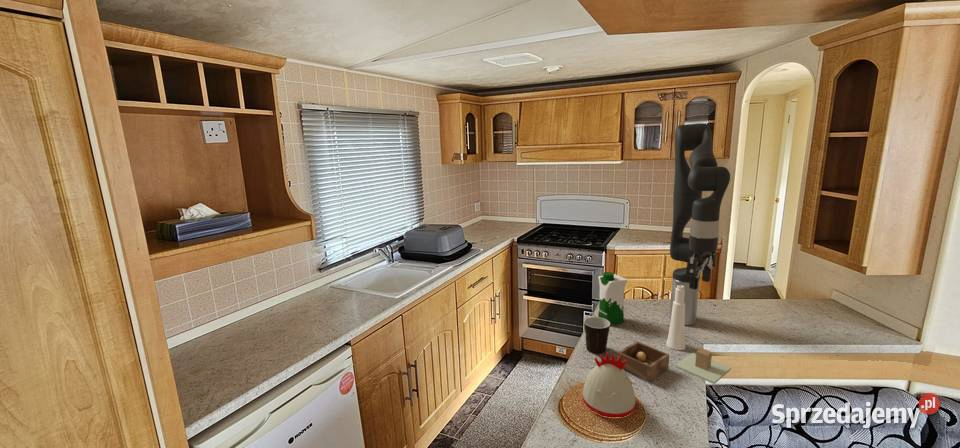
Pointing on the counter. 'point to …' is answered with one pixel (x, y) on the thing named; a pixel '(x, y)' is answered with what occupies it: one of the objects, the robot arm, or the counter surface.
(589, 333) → the coffee mug
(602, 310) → the milk carton
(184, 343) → the counter surface
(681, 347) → the cosmetic bottle
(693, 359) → the lid
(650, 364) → the box
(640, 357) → the ball
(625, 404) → the cream dome
